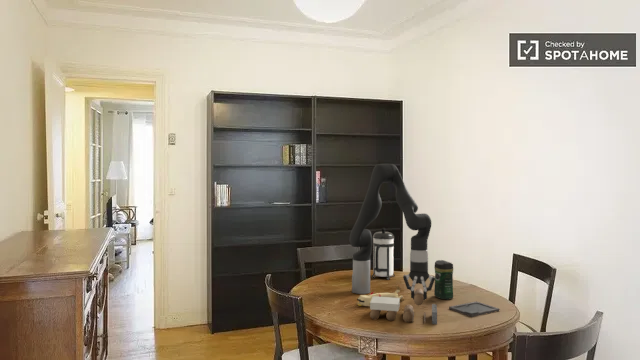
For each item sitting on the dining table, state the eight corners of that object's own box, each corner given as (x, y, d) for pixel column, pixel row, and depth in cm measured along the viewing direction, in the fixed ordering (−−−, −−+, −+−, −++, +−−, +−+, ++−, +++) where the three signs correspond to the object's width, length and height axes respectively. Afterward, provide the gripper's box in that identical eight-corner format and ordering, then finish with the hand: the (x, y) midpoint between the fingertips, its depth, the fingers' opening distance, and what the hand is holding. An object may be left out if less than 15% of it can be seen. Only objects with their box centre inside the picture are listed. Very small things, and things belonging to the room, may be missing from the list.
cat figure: (393, 300, 226) (351, 303, 214) (394, 282, 226) (353, 284, 214) (405, 305, 217) (363, 308, 205) (407, 287, 217) (364, 289, 205)
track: (369, 319, 192) (369, 309, 192) (373, 310, 204) (373, 302, 204) (425, 323, 186) (425, 314, 186) (425, 314, 198) (425, 305, 198)
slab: (370, 309, 193) (370, 302, 193) (373, 302, 203) (373, 296, 203) (398, 311, 190) (398, 304, 190) (399, 304, 200) (399, 298, 200)
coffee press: (365, 275, 275) (365, 226, 274) (390, 274, 279) (390, 226, 278) (375, 282, 258) (376, 230, 257) (401, 280, 262) (401, 229, 261)
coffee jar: (455, 299, 223) (456, 262, 222) (441, 300, 220) (442, 263, 220) (445, 294, 232) (445, 258, 232) (431, 295, 230) (432, 259, 230)
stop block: (432, 324, 186) (432, 312, 186) (431, 315, 197) (431, 304, 197) (437, 324, 185) (437, 312, 185) (436, 315, 197) (436, 304, 197)
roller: (413, 304, 187) (413, 295, 187) (414, 297, 199) (414, 288, 199) (423, 305, 186) (423, 296, 186) (423, 297, 198) (423, 288, 198)
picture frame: (471, 318, 195) (499, 312, 204) (471, 313, 195) (499, 307, 204) (449, 310, 207) (476, 304, 216) (449, 305, 207) (476, 300, 215)
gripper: (401, 260, 191) (401, 300, 191) (436, 262, 187) (436, 303, 187) (402, 257, 198) (402, 296, 198) (435, 259, 195) (435, 298, 195)
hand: (419, 299), depth 193 cm, fingers closed on roller, 4 cm apart
